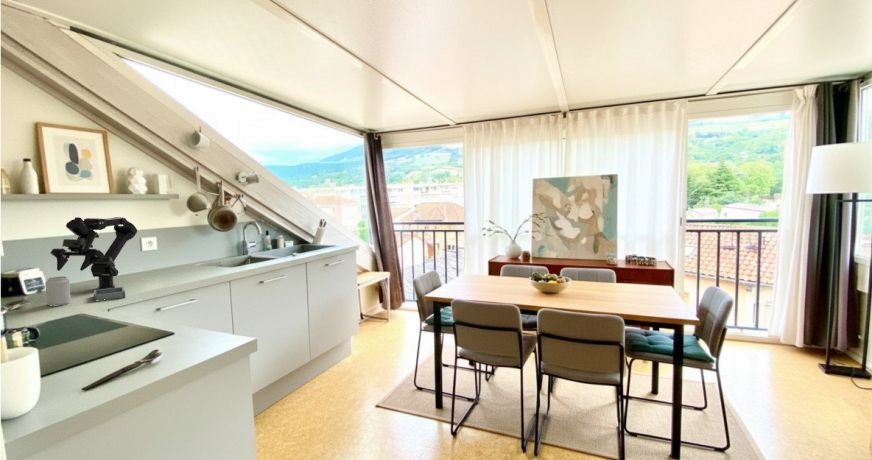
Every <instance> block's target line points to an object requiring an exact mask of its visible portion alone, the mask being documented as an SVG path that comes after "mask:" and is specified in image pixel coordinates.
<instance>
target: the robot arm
mask: <svg viewBox="0 0 872 460" xmlns="http://www.w3.org/2000/svg"><path fill="white" fill-rule="evenodd" d="M65 227H66V229H67V230H69V231H70V232H72V234H73V235H74V236H78V237H77V239H73V238H72V239H71V238H70V239H69V238H67V239H65V238H64V239H63V241H62V246H61V247H67V249H68V250H66V249H65V248H53V249H52V250H51V251H50V255H52V256H53V257H55V258H56V270H57V271H59V272H60V271H61V270H62V269H63V268H64V266H65V265H66V264H67V262H68V261H69V258H70V257H78V256H79V257H84V260H83V262H82V263H81V266H80V269H79V271H80V272H82V271H85V269H87V268H88V267H90V272H91V275H92V277H93V278H96V277H97V278H98V279H97V281H98V286H97V290H99V289H108V288H116V286H115V284H114V277H117V276H118V275H119V270H118V269H117V268H116V264H115V260H116V259H117V257H118V256H119V254H120V253H121V251H122V249H123V248H124V246H125V244H126V243H127V242H128V241H130V240H131V239H134V237H135V236H136V235H137V233H138V229H137V227H136V226H135V225H134V224H133V223H132V222H131V221H129V220H127V218H125V217H121V216H118V217H117V216H116V217H108V218H101V217H100V218H99V217H98V218H96V217H95V218H93V217H91V218H90V217H89V218H88V217H86V218H84V219H83V218H81V217H80V216H79V217H76V216H75V218H74V219H72V220H70V221H68V222H66V225H65ZM107 227H113V230H114V231H115V236H116V237H115V238H114V240H113V241H112V242H111V245H110V246H109V247H108V249H107V250H106V252H105V253H104V252H102V251H101V250H100V249H99V248H93V247H94V246H93V243H94V241H95V239H96V238H97V239H98V238H100V235H99V234H98V232H97V231H102V230H105V229H106V228H107Z"/></svg>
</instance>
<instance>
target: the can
mask: <svg viewBox="0 0 872 460" xmlns="http://www.w3.org/2000/svg"><path fill="white" fill-rule="evenodd" d="M44 285H45V297H46V298H45V299H46V305H47V306H50V305H52V306H51V307H55V306H54V305H61V306H65V305H64V304H66V305H68V304H69V303H71V301H72V299H71V298H72V297H71V286H70V285H71V283H70V279H69V278H68V277H67V276H66V275H65V276H62V275H61V276H54V277H53V276H52V277H48V278H47V279H46V281H45V283H44Z"/></svg>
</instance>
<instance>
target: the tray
mask: <svg viewBox="0 0 872 460" xmlns="http://www.w3.org/2000/svg"><path fill="white" fill-rule="evenodd" d="M125 291H126V289H125V287H124V286H119V287H115V288H108V289H99V290H98V289H94V290H93V301H94V300H104V299H105V300H104V301H109V300H108V299H111V300H110V301H113V300H117V299H125V298H126V292H125Z"/></svg>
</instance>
